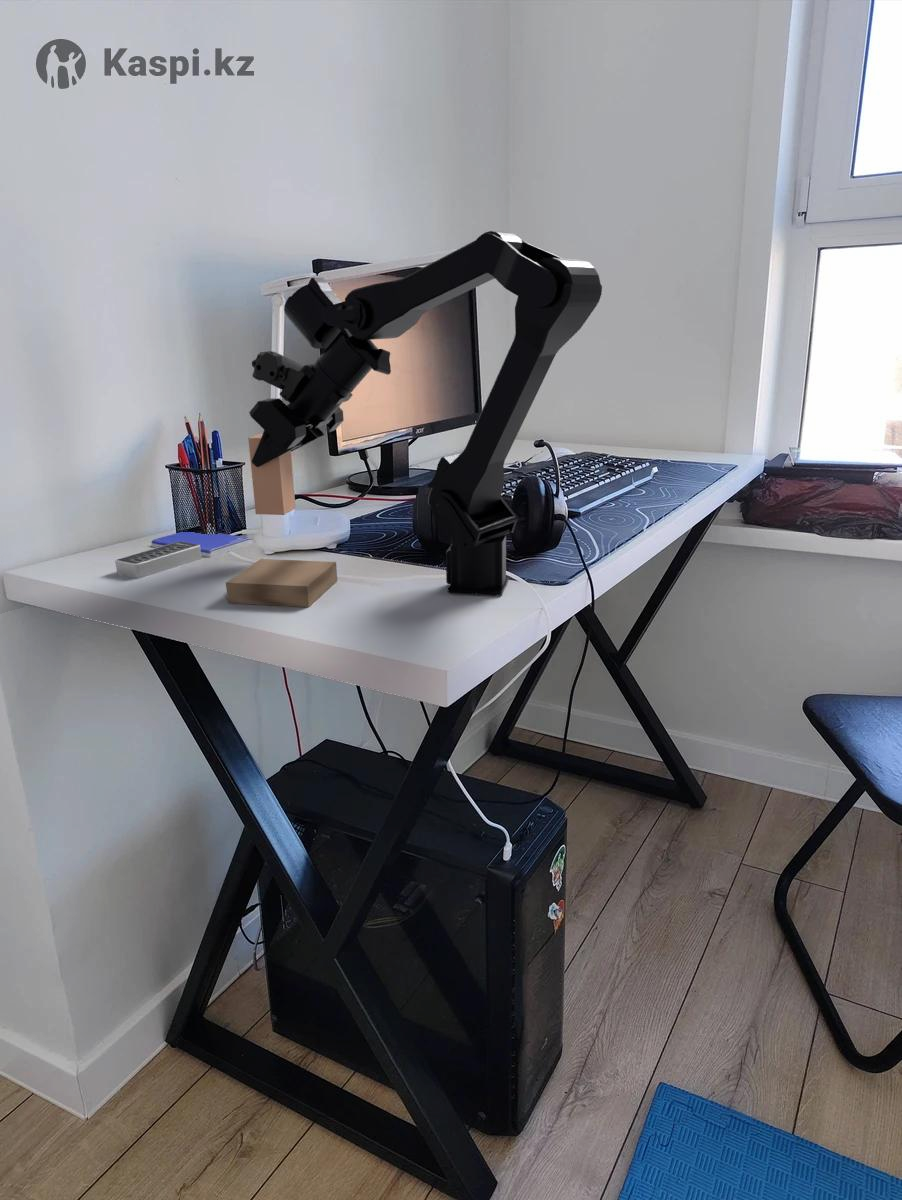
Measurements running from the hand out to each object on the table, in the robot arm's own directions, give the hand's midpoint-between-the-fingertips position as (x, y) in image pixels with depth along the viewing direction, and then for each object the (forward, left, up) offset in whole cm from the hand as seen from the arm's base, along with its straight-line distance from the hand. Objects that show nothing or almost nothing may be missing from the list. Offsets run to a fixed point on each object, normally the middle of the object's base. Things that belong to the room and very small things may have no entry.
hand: (261, 461), depth 113 cm
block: (-1, 0, -7) cm, 7 cm away
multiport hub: (+14, +5, -14) cm, 20 cm away
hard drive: (+13, -6, -14) cm, 21 cm away
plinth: (-7, +13, -13) cm, 20 cm away
